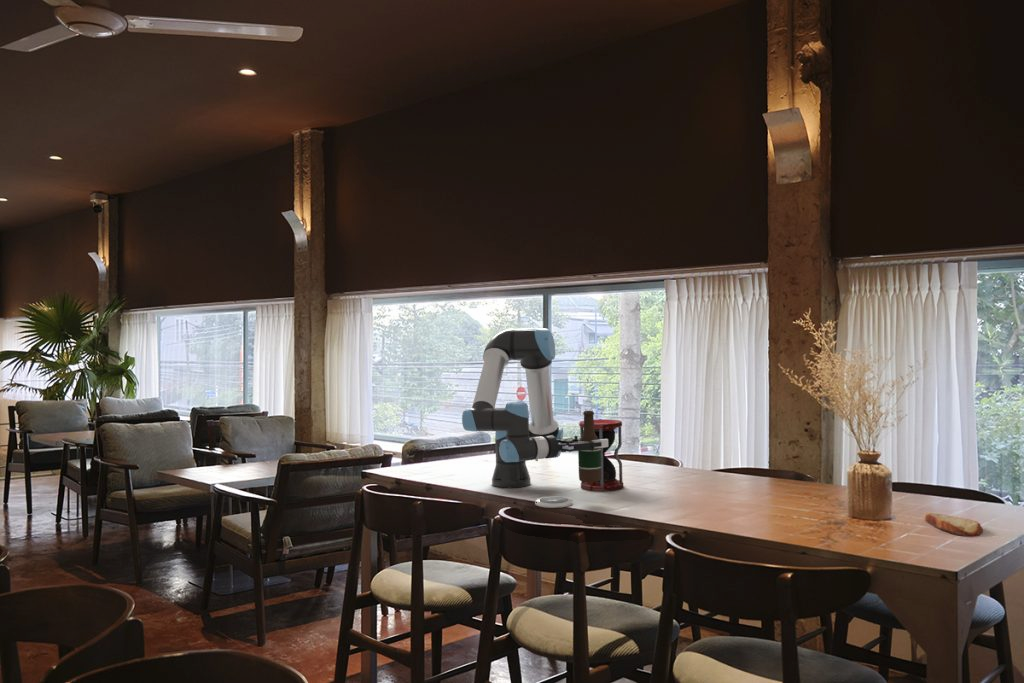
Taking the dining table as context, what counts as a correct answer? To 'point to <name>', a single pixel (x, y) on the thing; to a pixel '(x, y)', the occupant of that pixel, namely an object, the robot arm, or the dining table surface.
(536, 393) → the robot arm
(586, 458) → the beer bottle
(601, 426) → the hourglass
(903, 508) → the dining table surface
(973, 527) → the bread slice
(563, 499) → the plate
